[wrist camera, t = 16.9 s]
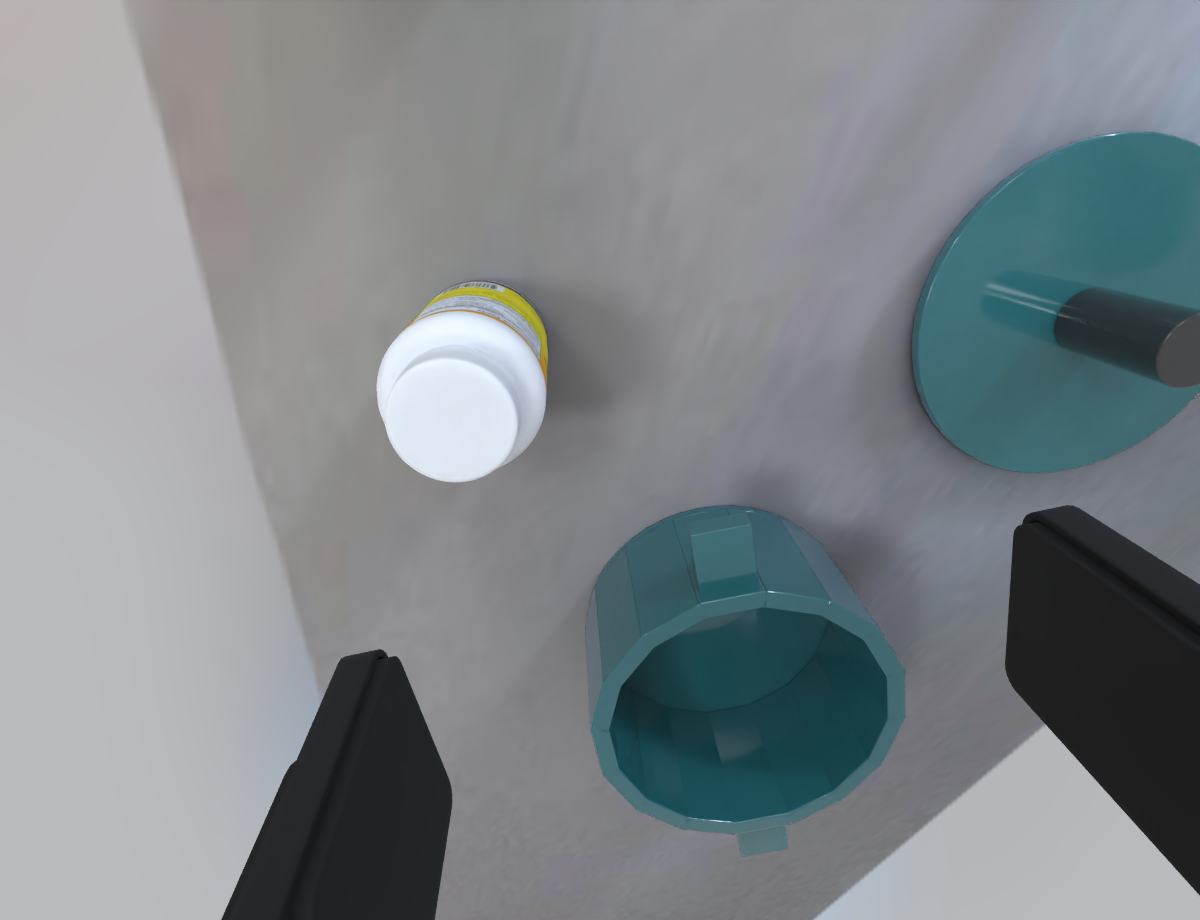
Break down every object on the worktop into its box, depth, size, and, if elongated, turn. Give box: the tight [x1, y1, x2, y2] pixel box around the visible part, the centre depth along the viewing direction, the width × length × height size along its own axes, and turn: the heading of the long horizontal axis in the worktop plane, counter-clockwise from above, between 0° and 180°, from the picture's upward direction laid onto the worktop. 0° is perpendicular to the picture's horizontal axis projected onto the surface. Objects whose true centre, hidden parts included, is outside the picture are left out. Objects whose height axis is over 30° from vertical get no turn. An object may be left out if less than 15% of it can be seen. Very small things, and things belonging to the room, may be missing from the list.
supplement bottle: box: [377, 280, 548, 482], centre depth 24 cm, size 6×6×10 cm
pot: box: [585, 506, 905, 857], centre depth 32 cm, size 14×19×8 cm
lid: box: [912, 132, 1200, 473], centre depth 27 cm, size 15×15×7 cm
